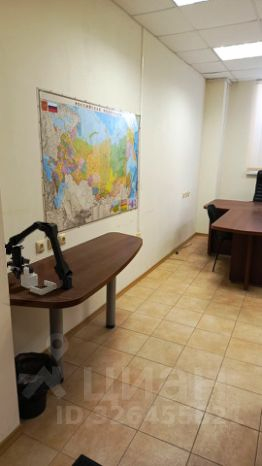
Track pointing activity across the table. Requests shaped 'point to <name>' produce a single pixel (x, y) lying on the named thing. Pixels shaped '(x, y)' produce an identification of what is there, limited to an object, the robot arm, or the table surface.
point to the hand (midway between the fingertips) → (18, 279)
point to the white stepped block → (29, 277)
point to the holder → (42, 291)
